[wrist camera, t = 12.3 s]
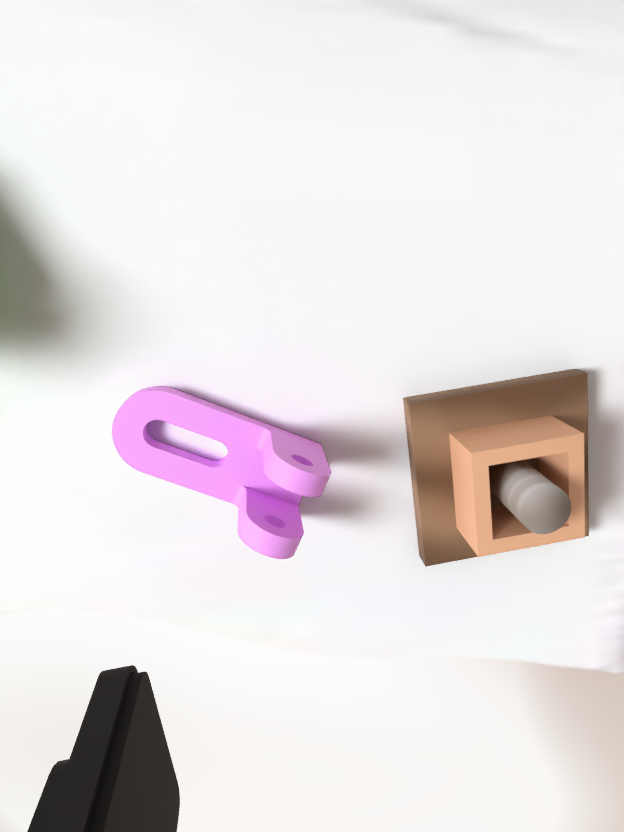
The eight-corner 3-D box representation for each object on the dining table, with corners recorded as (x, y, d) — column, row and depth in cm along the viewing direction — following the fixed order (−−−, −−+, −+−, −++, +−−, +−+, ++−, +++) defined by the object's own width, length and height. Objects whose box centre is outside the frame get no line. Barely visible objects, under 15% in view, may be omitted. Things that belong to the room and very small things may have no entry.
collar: (449, 432, 39) (471, 453, 35) (551, 415, 39) (584, 433, 35) (456, 527, 41) (478, 556, 37) (553, 510, 41) (584, 537, 37)
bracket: (320, 443, 40) (335, 482, 33) (289, 514, 41) (297, 565, 34) (133, 372, 37) (108, 399, 30) (105, 450, 38) (75, 493, 32)
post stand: (403, 397, 39) (437, 431, 32) (574, 368, 40) (646, 395, 33) (419, 555, 43) (454, 617, 35) (577, 526, 43) (642, 581, 36)
